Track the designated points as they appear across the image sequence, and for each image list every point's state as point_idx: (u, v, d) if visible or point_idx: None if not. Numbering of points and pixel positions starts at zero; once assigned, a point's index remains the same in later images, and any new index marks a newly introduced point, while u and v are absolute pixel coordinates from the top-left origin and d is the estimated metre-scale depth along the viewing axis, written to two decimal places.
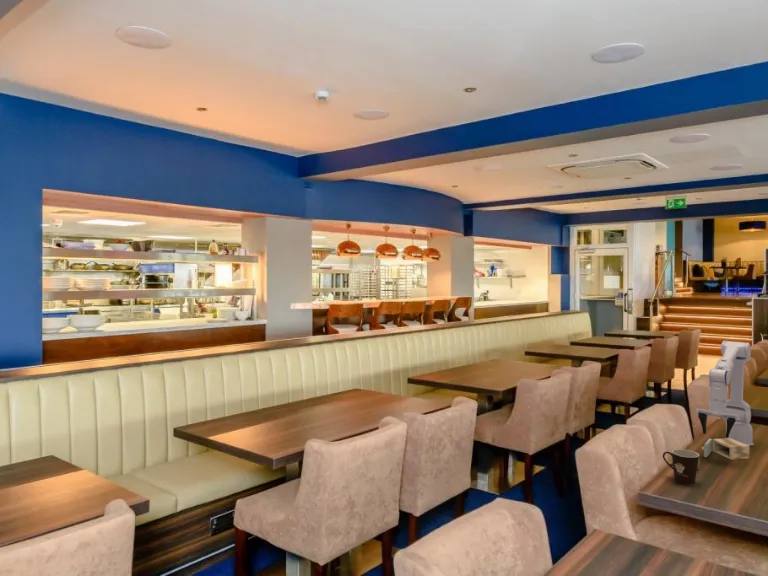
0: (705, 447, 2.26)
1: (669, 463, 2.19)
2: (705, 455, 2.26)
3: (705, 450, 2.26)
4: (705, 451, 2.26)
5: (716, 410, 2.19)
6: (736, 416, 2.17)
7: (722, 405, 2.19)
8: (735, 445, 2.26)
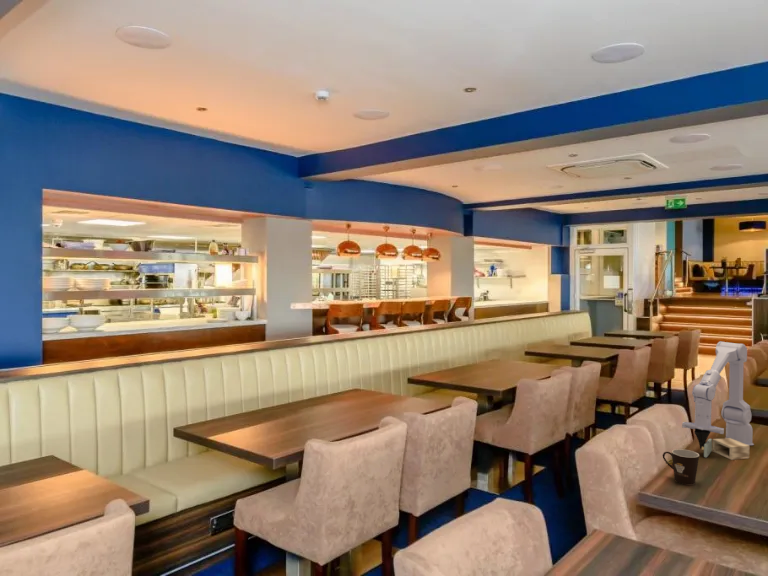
0: (705, 447, 2.26)
1: (665, 462, 2.20)
2: (705, 455, 2.26)
3: (705, 450, 2.26)
4: (705, 451, 2.26)
5: (701, 425, 2.27)
6: (720, 430, 2.25)
7: (707, 420, 2.27)
8: (735, 445, 2.26)
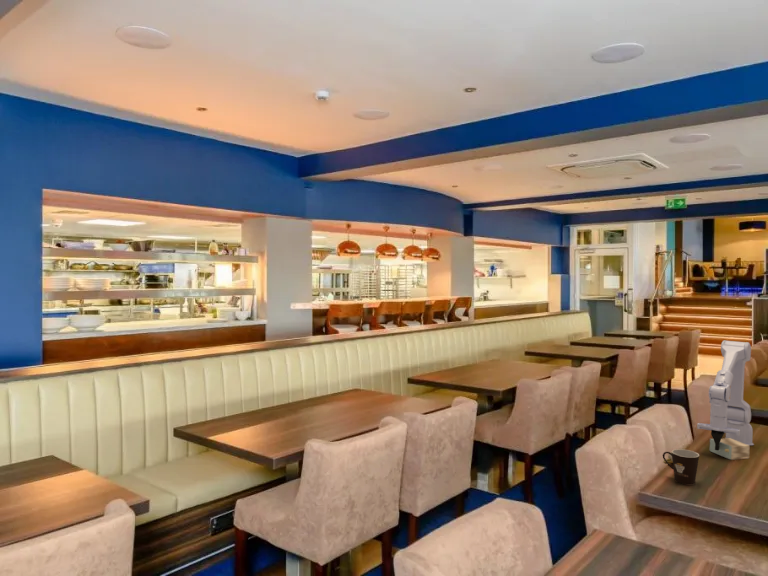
0: (730, 449, 2.24)
1: (663, 461, 2.21)
2: (730, 457, 2.24)
3: (730, 452, 2.24)
4: (730, 453, 2.24)
5: (717, 426, 2.25)
6: (736, 432, 2.22)
7: (722, 421, 2.24)
8: (735, 445, 2.26)
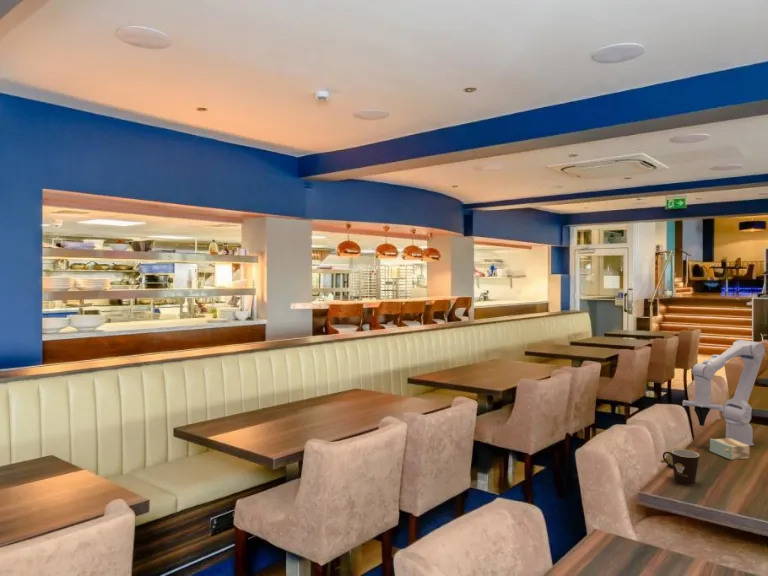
0: (730, 449, 2.24)
1: (660, 461, 2.22)
2: (730, 457, 2.24)
3: (730, 452, 2.24)
4: (730, 453, 2.24)
5: (701, 402, 2.36)
6: (720, 407, 2.33)
7: (706, 398, 2.35)
8: (735, 445, 2.26)
